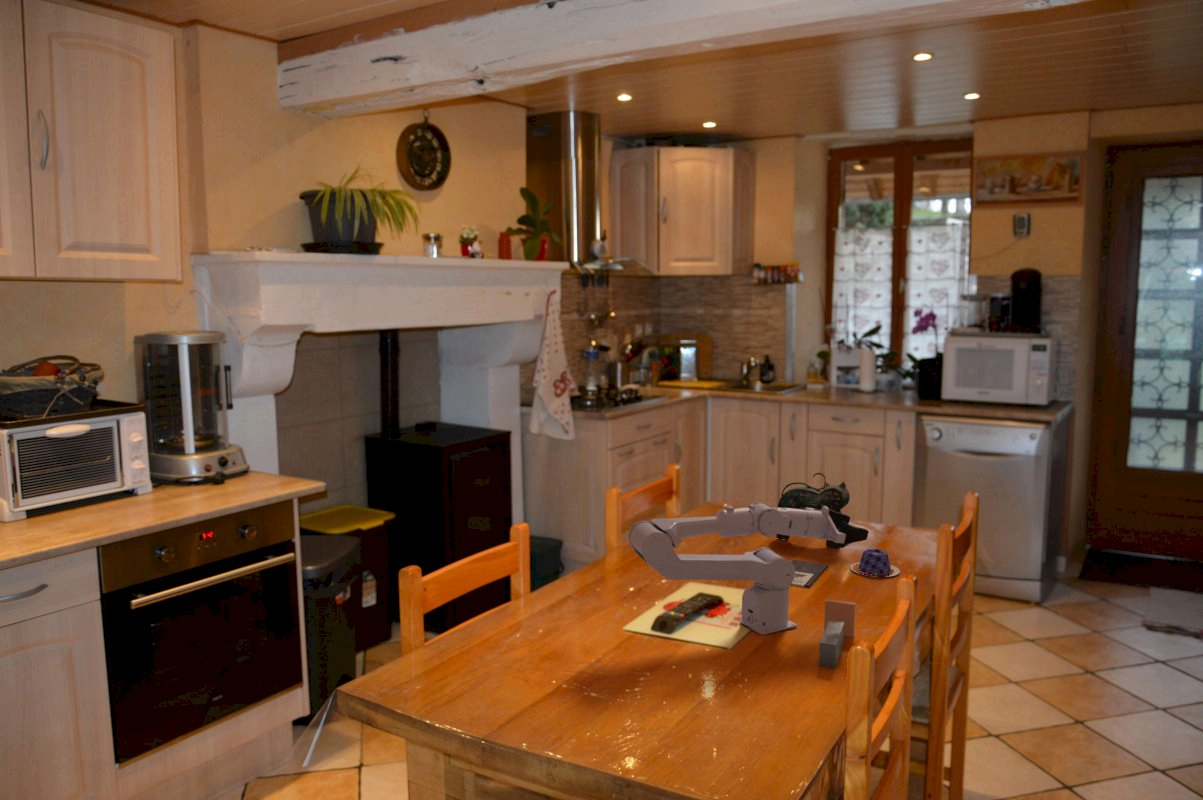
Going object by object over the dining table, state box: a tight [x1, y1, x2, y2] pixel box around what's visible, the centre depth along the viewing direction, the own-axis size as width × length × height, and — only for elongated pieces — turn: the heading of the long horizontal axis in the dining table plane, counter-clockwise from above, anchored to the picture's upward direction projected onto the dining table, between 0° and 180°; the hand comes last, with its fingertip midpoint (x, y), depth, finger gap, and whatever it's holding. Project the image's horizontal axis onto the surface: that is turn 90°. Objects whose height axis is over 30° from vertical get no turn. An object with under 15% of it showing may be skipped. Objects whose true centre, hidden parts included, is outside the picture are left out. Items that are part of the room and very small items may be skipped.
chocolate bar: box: [789, 559, 829, 589], centre depth 227 cm, size 9×1×18 cm
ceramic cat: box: [775, 472, 851, 549], centre depth 252 cm, size 20×6×20 cm, turn 58°
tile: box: [823, 598, 857, 638], centre depth 189 cm, size 2×6×7 cm, turn 68°
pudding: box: [849, 548, 901, 578], centre depth 230 cm, size 12×12×5 cm
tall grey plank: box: [818, 620, 845, 670], centre depth 179 cm, size 12×3×5 cm, turn 158°
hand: (857, 527), depth 198 cm, fingers open, 7 cm apart
